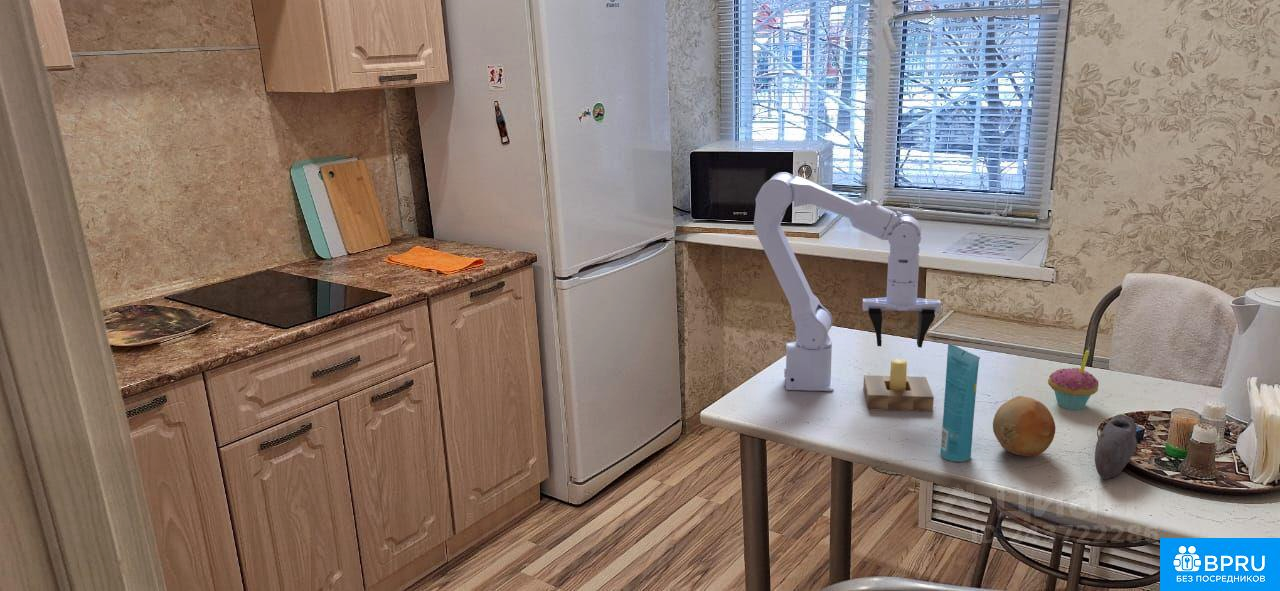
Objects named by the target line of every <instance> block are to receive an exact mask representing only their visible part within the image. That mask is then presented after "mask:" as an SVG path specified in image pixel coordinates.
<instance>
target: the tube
mask: <svg viewBox="0 0 1280 591" xmlns="http://www.w3.org/2000/svg"><path fill="white" fill-rule="evenodd" d="M947 344H948V345H947V354H946V355H947V357H946V369H945V370H946V372H945V384H944V385H945V387H944V388H945V389H944V400H943V413H942V414H943V416H942V426H941V428H942V430H941V442H940V455H941V457H942V458H943V459H945V460H948V461H951V462H957V463H958V462H962V463H963V462H967V461H970V459H971V457H972V444H973V430H974V418H975V410H976V409H975V407H976V398H977V397H976V396H977V385H978V372H979V364H980V359H981V356H978V355H976V354H974V353H972V352H969V351H967V350H965V349H962V348H960V347H958V346H957V345H954V344H953V343H950V342H948V343H947Z"/></svg>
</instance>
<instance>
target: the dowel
mask: <svg viewBox="0 0 1280 591" xmlns="http://www.w3.org/2000/svg"><path fill="white" fill-rule="evenodd" d="M907 368H908V361H906V360H904V359H899V358H898V359H897V358H896V359H892V360H890V369H889V370H890V373H889V376H890V390H906V376H907Z"/></svg>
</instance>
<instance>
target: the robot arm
mask: <svg viewBox="0 0 1280 591" xmlns="http://www.w3.org/2000/svg"><path fill="white" fill-rule="evenodd" d="M792 202H793V207H794V208H797V207H802V206H806V205H813V206H815V207H818V208H820V209H824V210H825V211H826V210H827V211H829V212H831V213H834V214H836V215H839V216H842V217H844V218H847V219H849V221H850V223H851V226H852V227H853V228H854V229H857V230H859V231H861V232H863V233H866V234H868V235H870V236H873V237H876V238H878V239H879V240H882V241H888V244H889V245H890V247H889V248H890V249H889V254H888V256H887V257H888V259H887V261H888V262H887V275H886V276H887V280H886V296H885V297H873V298H862V311H863V312H867V311H868V316H869V318H870V320H871V322H872V326H873V329H874V332H875V337H876V345H877V347H882V344H883V343H882V327H883V325H882V324H883V312H882V311H899V312H900V311H904V312H905V311H907V312H909V311H911V312H912V311H913V312H918V327H917V329H918V330H917V335H916V336H917V338H916V345H917V348H922V347H923V344H924V339H925V337H926V334H927V332H928V330H929V328H930V327H931V326H932V324H933V322H934V321H935V318H936V314H935V313H941V310H942V309H941V308H942V302H941V299H930V298H929V299H928V298H920V297H918V288H919V287H918V286H919V271H920V270H919V269H920V255H919V253H920V243H921V240H922V236H921V235H922V227H921V224H920V222H919V221H918V220H917V218H915V217H913V216H912V215H911V214H906V213H905V214H903V212H902V211H899V210H896V211H893V210H891V209H889V208H886V207H883V206H881V205H879V203H880V202H879V200H875V199H872V200H871V201H869V200H867V199H865V200H862V201H859V202H855V201H853V200H851V199H850V198H847V197H844V196H842V195H840V194H838V193H836V192H834V191H831V190H830V189H828V188H826V187H823V186H821V185H819V184H817V183H815V182H813V181H811V180H809V179H806V178H804V177H802V176H798V175H796V176H794V175H793V174H792V173H789V172H786V171H784V172H783V171H782V172H777V173H775V174H773V175H772V176H771V178H770V179H769V180H767V181H766V182H764V184H763V185H761V187H760V189H759V191H758V193H757V194H756V197H755V209H754V210H755V211H754V216H753V217H754V219H753V230H754V232H755V234H756V236H757V238H758V241H759V242H760V244H761V247H762V248H763V251H764V254H765V255H766V257H767V259H768V261H769V263H770V265H771V268H772V270H773V272H774V274H775V276H776V278H777V280H778V282H779V285H780V286H781V289H782V291H783V292H784V294H785V297H786V299H787V301H788V303H789V305H790V311H791V318H792V321H793V323H794V325H795V332H794V334H795V338H796V340H795V341H793V342H791V341H790V342H786V344H785V346H786V350H785V351H786V353H785V356H786V357H785V360H786V361H785V368H784V370H783V371H784V378H785V390H786V391H814V392H818V391H819V392H833V391H834V381H833V380H834V379H833V375H832V354H833V353H832V351H833V350H832V348H833V346H832V345H833V340H832V339H831V338H830V335H829V332H830V330H831V328H832V326H833V316H832V314H831V312H830V311H829V310H828V309H827V308H826V307H824V306H823V305H822V303H821V301H820V300H819V298H818V297H817V296H816V295H815V294H814V293H813V291H812V289H811V287H810V285H809V282H808V280H807V279H806V276H805V274H804V271H803V270H802V268H801V266H800V263H799V262H798V259H797V257H796V255H795V253H794V251H793V248H792V247H791V245H790V242H789V240H788V238H787V236H786V233H785V232H784V230H783V228H782V225H781V223H782V221H783V219H784V216H785V214H786V212H787V209H788V207H789V206H790V205H791V204H792Z"/></svg>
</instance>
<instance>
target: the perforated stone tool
mask: <svg viewBox="0 0 1280 591" xmlns="http://www.w3.org/2000/svg"><path fill="white" fill-rule="evenodd" d="M1137 430H1138V429H1137V424H1136V422H1135V419H1134V418H1132V417H1130V416H1128V415H1125V414H1121V413H1119V414H1116V415H1115V416H1113V417H1111V418H1110V419H1109V421H1108V422H1107V423H1106V425H1105V426H1104V427H1103V428H1102V431H1101V432H1100V434H1099V436H1098V439H1097V442H1096V444H1095V451H1094V466H1095V468H1096V469H1095V470H1096V471H1097V473H1098V475H1099V476H1100V477H1101V478H1102V479H1111V478H1114V477H1115V476H1117V475H1119V474H1120V473H1121V472H1122V471H1123V469H1124V468H1126V467H1127V465H1128V463H1129V462H1130V460H1131V458H1132V456H1133V454H1134V452H1135V450H1136V448H1137V447H1138V446H1137V445H1138V440H1137V437H1136V435H1137Z"/></svg>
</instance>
